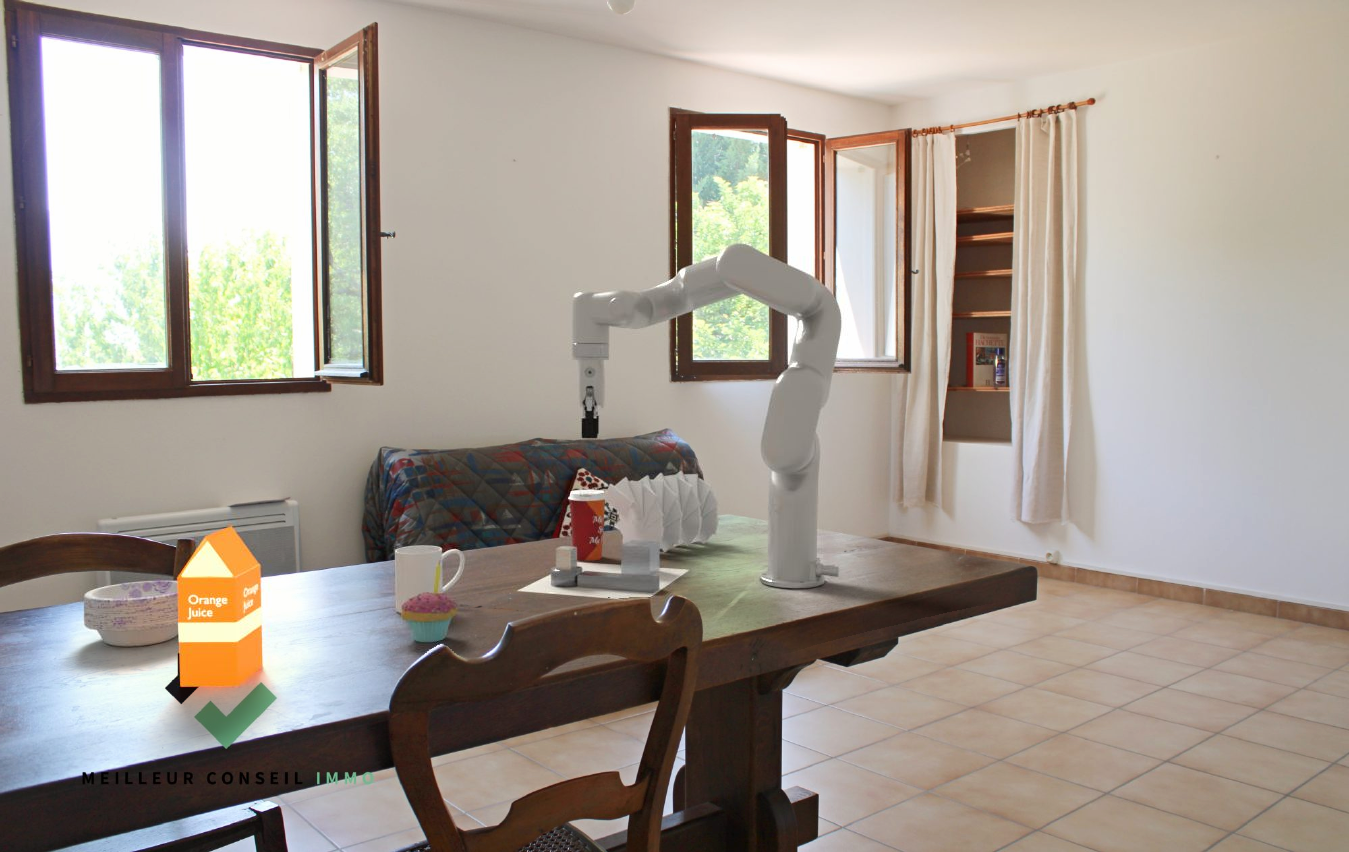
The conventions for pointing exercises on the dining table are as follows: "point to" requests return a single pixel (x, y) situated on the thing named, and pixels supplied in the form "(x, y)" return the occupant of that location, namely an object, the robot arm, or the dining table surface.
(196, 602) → the orange juice
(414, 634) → the cupcake
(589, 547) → the coffee cup
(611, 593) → the white square board
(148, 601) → the paper bowls
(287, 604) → the dining table surface
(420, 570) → the mug
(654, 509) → the white pleated paper lantern
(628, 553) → the light gray cube
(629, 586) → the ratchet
